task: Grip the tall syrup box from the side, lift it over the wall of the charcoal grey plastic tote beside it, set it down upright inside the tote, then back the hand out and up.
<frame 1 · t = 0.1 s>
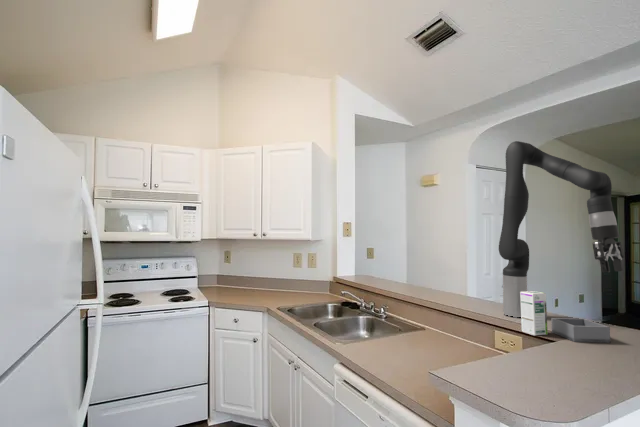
hand: (612, 271, 122), 22 cm above the worktop, tool pointing down, fingers open, 8 cm apart
syrup box: (534, 333, 125), on the worktop
tote: (579, 337, 120), on the worktop
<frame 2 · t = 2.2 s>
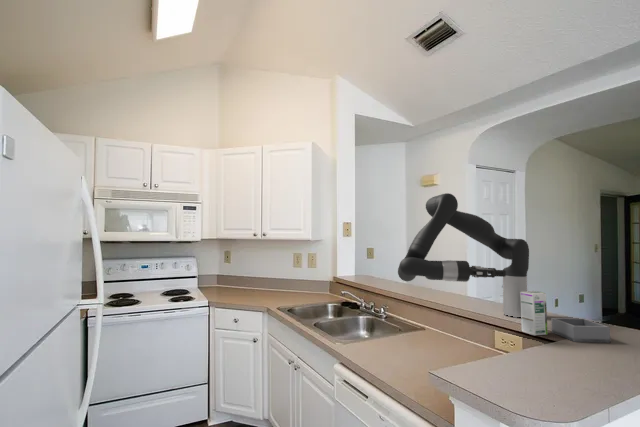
hand: (500, 272, 127), 21 cm above the worktop, tool horizontal, fingers open, 8 cm apart
nothing on the worktop moved.
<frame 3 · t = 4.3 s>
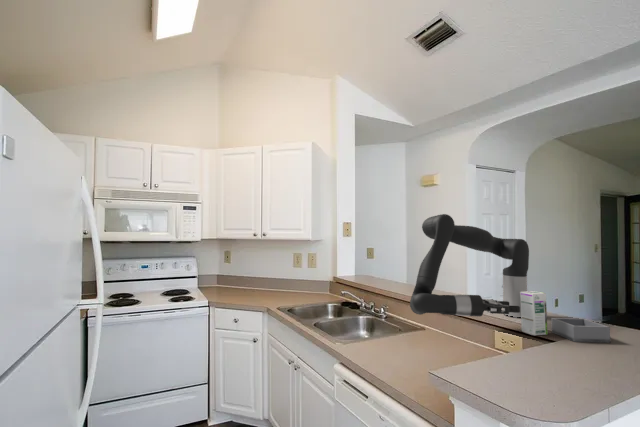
hand: (513, 306, 126), 9 cm above the worktop, tool horizontal, fingers open, 8 cm apart
nothing on the worktop moved.
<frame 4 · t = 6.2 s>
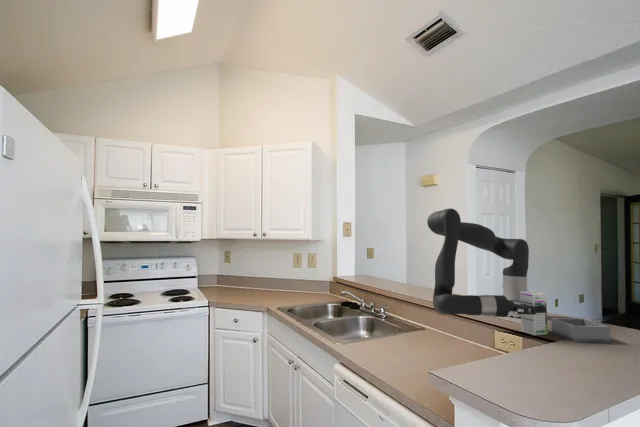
hand: (539, 307, 125), 9 cm above the worktop, tool horizontal, fingers closed on syrup box, 7 cm apart
syrup box: (534, 333, 125), on the worktop, touching gripper
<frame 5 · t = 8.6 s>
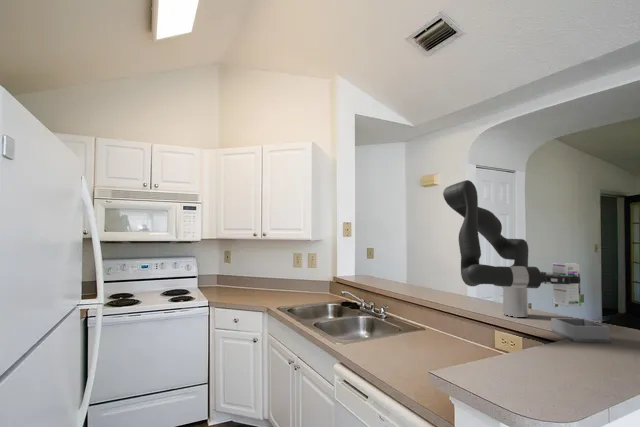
hand: (572, 278, 122), 20 cm above the worktop, tool horizontal, fingers closed on syrup box, 7 cm apart
syrup box: (566, 305, 122), point 11 cm above the worktop, touching gripper
when the fingers open (11 cm above the worktop, at t = 11.1 s): syrup box drops 1 cm, resting on tote.
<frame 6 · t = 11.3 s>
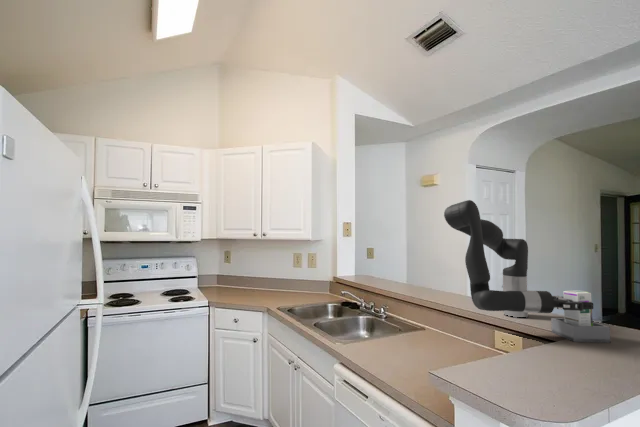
hand: (584, 303, 121), 11 cm above the worktop, tool horizontal, fingers open, 8 cm apart
syrup box: (578, 334, 121), point 1 cm above the worktop, touching tote
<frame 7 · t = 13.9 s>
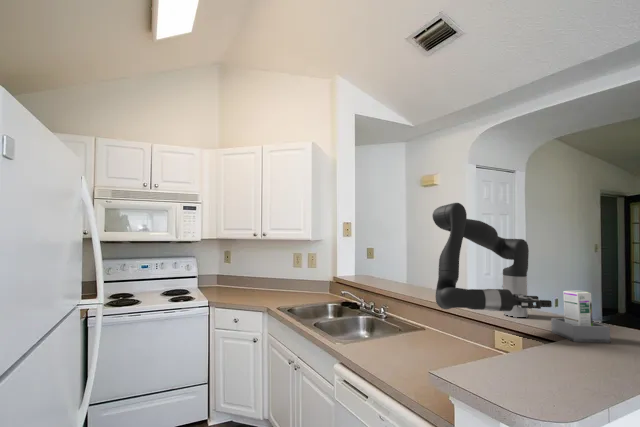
hand: (544, 301, 122), 12 cm above the worktop, tool horizontal, fingers open, 8 cm apart
nothing on the worktop moved.
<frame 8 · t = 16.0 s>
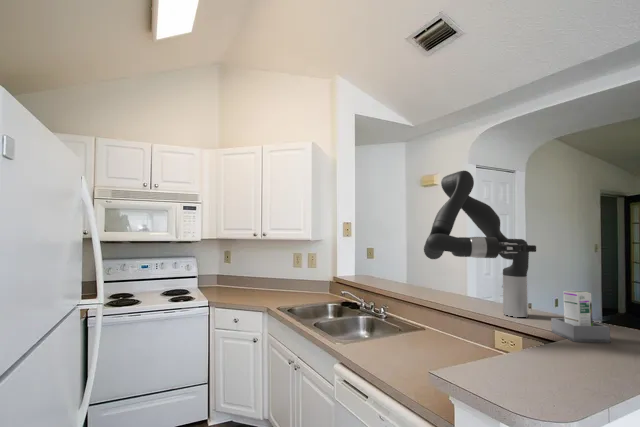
hand: (529, 248, 125), 30 cm above the worktop, tool horizontal, fingers open, 8 cm apart
nothing on the worktop moved.
at the end: syrup box 0.2 cm off-centre on the tote, point 0.8 cm above the tote's base; syrup box tilted 0°; the gripper is holding nothing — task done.
